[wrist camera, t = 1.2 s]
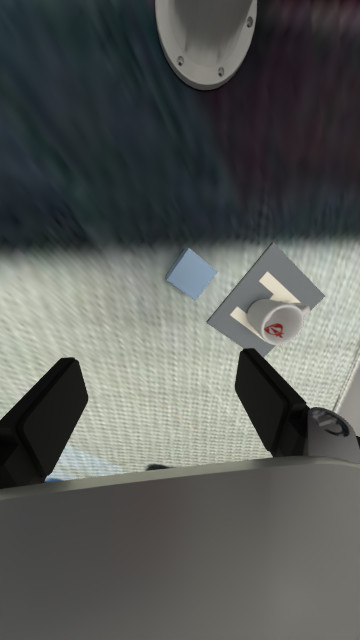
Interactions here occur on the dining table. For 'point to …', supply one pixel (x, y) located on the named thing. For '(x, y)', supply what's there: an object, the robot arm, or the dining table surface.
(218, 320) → the letter mat
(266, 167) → the dining table surface
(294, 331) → the cup
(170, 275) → the cube
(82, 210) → the dining table surface
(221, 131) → the dining table surface
